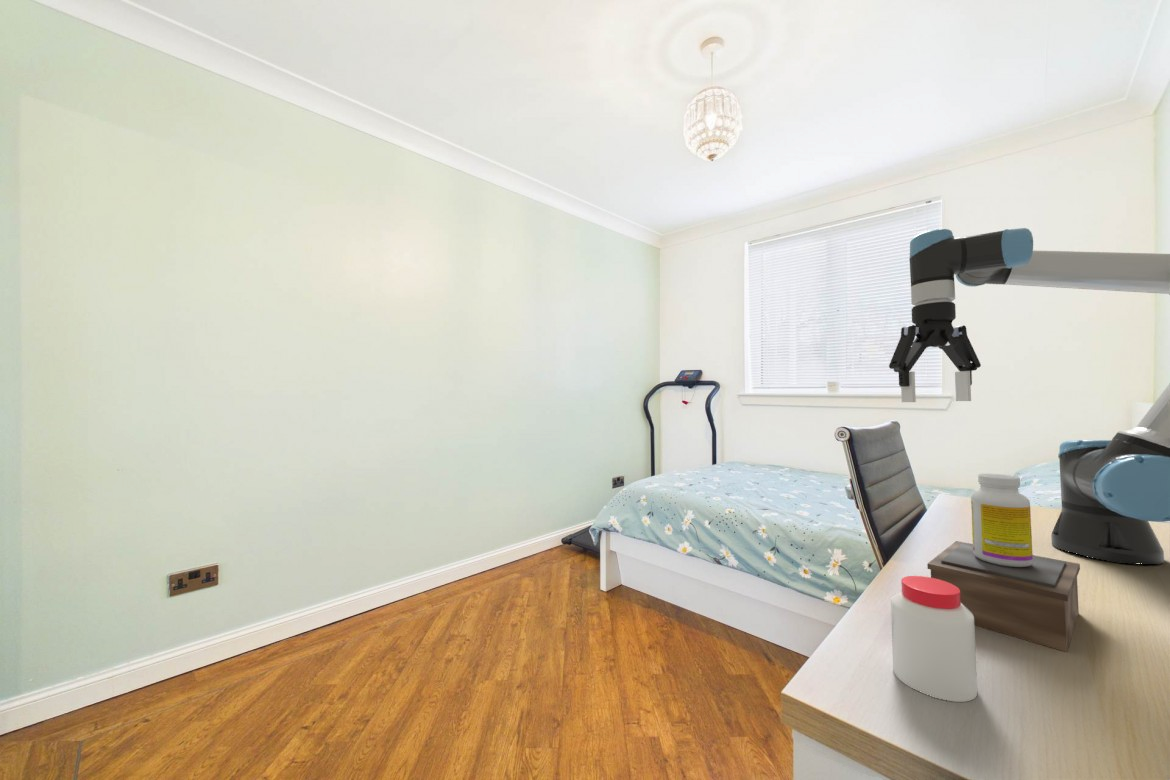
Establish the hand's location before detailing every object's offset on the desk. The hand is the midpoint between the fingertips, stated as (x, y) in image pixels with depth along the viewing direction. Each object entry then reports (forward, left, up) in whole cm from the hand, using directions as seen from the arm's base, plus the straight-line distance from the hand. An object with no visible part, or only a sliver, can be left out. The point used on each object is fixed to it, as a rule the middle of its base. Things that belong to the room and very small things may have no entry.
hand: (936, 401), depth 96 cm
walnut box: (+17, +26, -32) cm, 44 cm away
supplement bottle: (+17, +26, -24) cm, 39 cm away
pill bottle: (+42, +38, -32) cm, 65 cm away
